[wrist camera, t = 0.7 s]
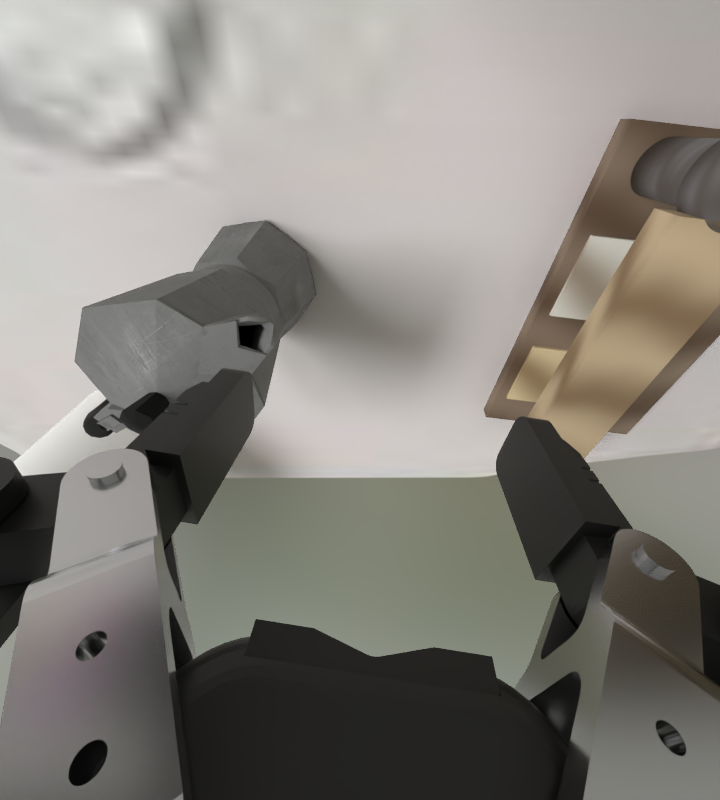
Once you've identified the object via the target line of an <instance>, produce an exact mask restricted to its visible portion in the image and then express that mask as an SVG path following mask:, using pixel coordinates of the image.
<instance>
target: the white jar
mask: <svg viewBox="0 0 720 800" xmlns="http://www.w3.org/2000/svg"><path fill="white" fill-rule="evenodd" d="M105 400H106V397H105V396H104V395H103V394H102V393H101V392H100V390H97V391H95V392H93V393H91V394H90V395H89V396H88V397H87V398H86V399H84V400H83V401H82V402H81V403H80V404H79V405H78V406H76V407H75V408H74V409H73V410H72V411H71V412H70V413H69V414H67V415H66V416H65V417H64V418H63V419H62V420H61V421H60V422H58V423H57V424H56V425H55V426H54V427H53V428H52V429H50V430H49V431H48V432H47V433H46V434H45V435H44V436H43V437H41V438H40V439H39V440H38V441H37V442H36V443H35V444H33V445H32V446H31V447H30V448H29V449H28V450H27V451H26V452H24V453H23V454H22V455H21V456H20V457H19V458H18V459H17V460H15V461H14V462H13V463H14V464H15V466H16V467H17V469H18V470H19V472H20V473H21V475H22V476H27V475H39V474H51V473H62V472H68V471H69V470H70V469H71V468H72V467H73V466H74V465H76V464H77V463H78V462H80V461H82V460H83V459H85V458H87V457H89V456H92V455H94V454H97V453H99V452H103V451H107V450H112V449H125V448H126V447H127V446H128V445H129V444H130V443H131V442H132V441H133V440H134V439H135V438H136V437H137V436H139V435H140V434H138V433H136V432H134V431H131V430H129V429H128V428H125V429H123V430H121V431H119V432H118V433H115V432H112V433H111V434H110V435H109V436H106V437H102V438H97V437H91V436H90V435H88V434H87V433H86V432H85V430H84V428H83V422H84V420H85V418H86V416H87V414H88V413H89V412H91V411H92V410H93V409H95V408H96V407H97V406H98V405H100V404H101V403H102V402H103V401H105Z"/></svg>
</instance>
